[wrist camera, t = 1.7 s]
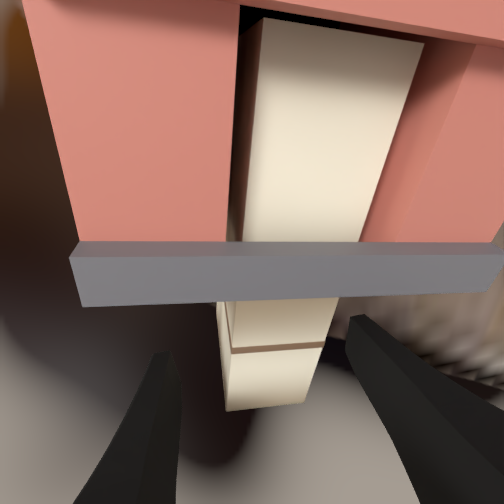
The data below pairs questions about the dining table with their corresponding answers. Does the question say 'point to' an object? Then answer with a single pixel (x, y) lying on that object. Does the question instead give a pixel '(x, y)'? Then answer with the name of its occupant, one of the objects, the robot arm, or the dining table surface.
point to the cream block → (302, 181)
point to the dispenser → (219, 153)
